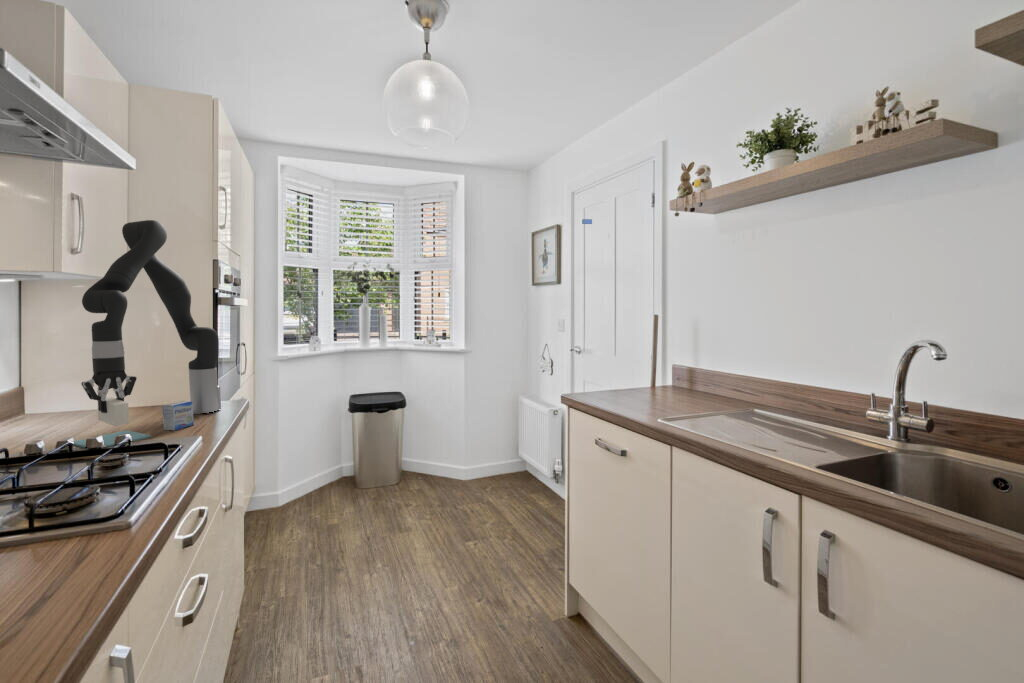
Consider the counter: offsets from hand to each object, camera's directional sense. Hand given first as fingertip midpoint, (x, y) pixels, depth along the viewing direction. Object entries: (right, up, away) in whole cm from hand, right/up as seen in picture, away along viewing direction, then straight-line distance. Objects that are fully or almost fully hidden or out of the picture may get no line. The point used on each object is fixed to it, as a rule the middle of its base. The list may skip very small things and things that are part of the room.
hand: (111, 411), depth 149 cm
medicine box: (+9, -8, +17) cm, 21 cm away
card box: (+5, -1, -2) cm, 5 cm away
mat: (-1, -9, +1) cm, 10 cm away
